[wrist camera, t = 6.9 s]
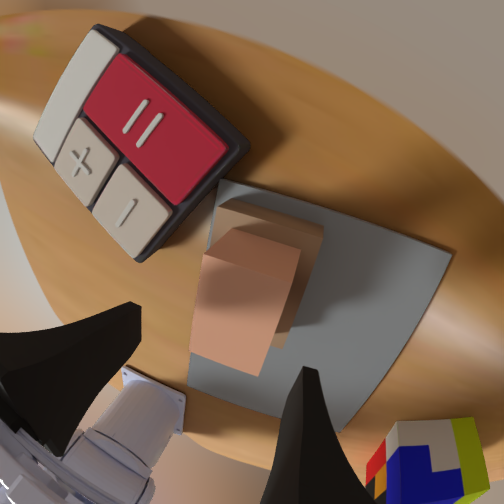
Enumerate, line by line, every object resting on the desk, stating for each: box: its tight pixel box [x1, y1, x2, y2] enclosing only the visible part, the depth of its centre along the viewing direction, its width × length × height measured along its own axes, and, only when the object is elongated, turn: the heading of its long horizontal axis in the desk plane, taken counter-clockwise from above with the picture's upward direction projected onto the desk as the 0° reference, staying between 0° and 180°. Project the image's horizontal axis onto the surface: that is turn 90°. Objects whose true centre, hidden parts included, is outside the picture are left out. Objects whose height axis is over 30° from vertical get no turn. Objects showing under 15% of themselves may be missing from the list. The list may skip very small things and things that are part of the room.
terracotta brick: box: [189, 228, 301, 377], centre depth 15 cm, size 6×4×4 cm, turn 167°
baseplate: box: [187, 178, 452, 433], centre depth 21 cm, size 20×16×1 cm
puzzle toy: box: [366, 417, 490, 504], centre depth 19 cm, size 10×10×10 cm
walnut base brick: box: [210, 198, 324, 349], centre depth 18 cm, size 8×6×2 cm
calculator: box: [33, 24, 250, 263], centre depth 17 cm, size 11×4×15 cm
